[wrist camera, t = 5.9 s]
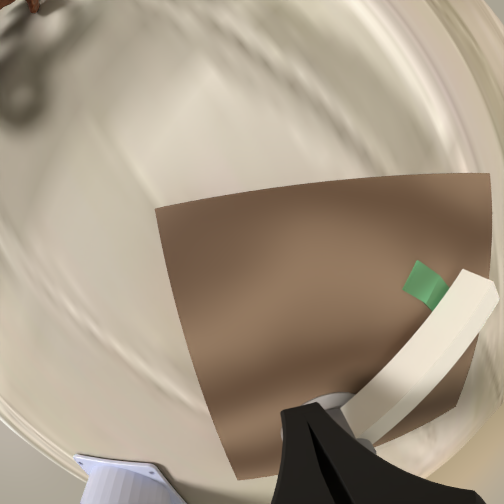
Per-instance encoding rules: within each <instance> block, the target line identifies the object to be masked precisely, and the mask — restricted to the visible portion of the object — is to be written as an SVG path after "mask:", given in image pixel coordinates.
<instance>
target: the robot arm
mask: <svg viewBox="0 0 504 504" xmlns="http://www.w3.org/2000/svg"><path fill="white" fill-rule="evenodd" d="M280 415H281V422H282V429H283V443H282V455H281V463H280V468H279V474H278V479H277V484H276V488H275V491H274V495H273V498H272V502H271V504H486V503H485V502H484V500H483V499H482V498H481V497H480V496H479V495H478V494H477V493H476V492H475V491H473V490H467V489H460V488H455V487H450V486H445V485H442V484H438V483H435V482H431V481H429V480H426V479H423V478H421V477H418V476H415V475H413V474H410V473H408V472H406V471H404V470H402V469H400V468H398V467H396V466H394V465H392V464H390V463H389V462H387V461H385V460H383V459H382V458H380V457H379V456H377V455H376V454H374V453H373V452H371V451H370V450H368V449H367V448H366V447H364V446H363V445H362V444H360V443H359V442H358V441H357V440H355V439H354V438H353V437H352V436H351V435H350V434H348V433H347V432H346V431H345V430H344V429H343V428H342V427H341V426H340V425H339V424H338V423H337V422H336V421H335V420H334V419H333V418H332V417H331V416H330V415H329V414H328V413H327V412H326V411H325V410H324V409H323V407H322V406H321V405H320V404H319V403H318V402H314V403H310V404H306V405H302V406H297V407H293V408H288V409H284V410H282V411H281V412H280ZM73 458H74V460H75V461H76V462H77V463H78V464H79V465H80V466H81V468H82V469H83V470H84V471H85V472H86V473H87V474H88V475H89V478H88V481H87V484H86V487H85V490H84V493H83V496H82V499H81V502H80V504H187V503H186V502H185V501H184V500H183V499H182V498H181V496H180V495H179V494H178V493H177V492H176V491H175V489H174V488H173V487H172V486H171V485H170V483H169V482H168V481H167V480H166V478H165V477H164V476H163V475H162V473H161V472H160V471H159V469H158V468H157V467H156V466H155V465H153V464H150V463H137V462H126V461H116V460H108V459H101V458H95V457H89V456H84V455H78V454H74V456H73Z"/></svg>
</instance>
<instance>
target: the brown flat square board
mask: <svg viewBox="0 0 504 504" xmlns="http://www.w3.org/2000/svg"><path fill="white" fill-rule="evenodd" d="M155 212H156V218H157V223H158V228H159V233H160V238H161V243H162V248H163V253H164V257H165V262H166V266H167V271H168V275H169V279H170V283H171V287H172V292H173V295H174V299H175V303H176V307H177V311H178V315H179V318H180V322H181V325H182V329H183V332H184V336H185V339H186V343H187V346H188V349H189V353H190V356H191V359H192V362H193V365H194V369H195V372H196V375H197V378H198V381H199V384H200V387H201V390H202V392H203V395H204V398H205V401H206V404H207V406H208V409H209V412H210V415H211V417H212V420H213V423H214V425H215V428H216V430H217V433H218V435H219V438H220V440H221V443H222V445H223V448H224V450H225V452H226V455H227V457H228V459H229V462H230V464H231V466H232V469H233V471H234V473H235V475H236V478H237V480H246V479H254V478H261V477H267V476H273V475H278V474H279V468H280V463H281V455H282V443H283V429H282V422H281V415H280V412H281V411H282V410H284V409H288V408H293V407H297V406H302V405H306V404H310V403H314V402H318V403H319V404H320V405H321V406H322V407H323V409H324V410H325V411H326V410H330V409H336V408H341V407H342V406H344V405H345V404H346V403H347V402H348V401H349V400H350V399H352V398H353V397H354V396H355V395H356V394H357V393H358V392H359V391H360V390H361V389H363V388H364V387H365V386H366V385H367V384H368V383H369V382H370V381H371V380H372V379H373V378H374V377H375V376H376V375H377V374H378V373H379V372H380V371H381V370H382V369H383V368H384V367H385V366H386V365H387V364H388V363H389V362H390V361H391V360H392V359H393V358H394V357H395V355H396V354H397V353H398V352H399V351H400V350H401V349H402V348H403V347H404V346H405V344H406V343H407V342H408V341H409V340H410V339H411V338H412V336H413V335H414V334H415V333H416V332H417V330H418V329H419V328H420V327H421V326H422V324H423V323H424V322H425V321H426V319H427V318H428V317H429V316H430V314H431V313H432V312H433V310H434V309H435V308H436V306H437V305H438V304H439V302H440V301H441V300H442V298H443V297H444V296H445V294H446V293H447V291H448V290H449V288H450V287H451V286H452V284H453V283H454V281H455V280H456V278H457V277H458V275H459V274H460V272H461V271H462V269H464V270H467V271H469V272H472V273H474V274H477V275H479V276H481V277H484V278H486V279H489V270H490V259H491V243H492V198H491V182H490V173H447V174H418V175H399V176H383V177H369V178H357V179H346V180H336V181H326V182H317V183H308V184H300V185H292V186H284V187H277V188H270V189H263V190H256V191H249V192H243V193H236V194H230V195H224V196H218V197H212V198H207V199H201V200H196V201H190V202H185V203H180V204H175V205H170V206H165V207H160V208H156V209H155ZM478 335H479V333H478V334H477V335H476V337H475V338H474V340H473V341H472V342H471V344H470V345H469V346H468V348H467V349H466V350H465V352H464V353H463V354H462V356H461V357H460V358H459V359H458V361H457V362H456V363H455V364H454V366H453V367H452V368H451V369H450V370H449V372H448V373H447V374H446V375H445V376H444V377H443V378H442V380H441V381H440V382H439V383H438V384H437V385H436V386H435V387H434V388H433V389H432V391H431V392H430V393H429V394H428V395H427V396H426V397H425V398H424V399H423V400H422V401H421V402H420V403H419V404H418V405H417V406H416V407H415V408H414V409H413V410H412V411H411V412H410V413H409V414H407V415H406V416H405V417H404V418H403V419H402V420H401V421H400V422H399V423H398V424H396V425H395V426H394V427H393V428H392V429H391V430H389V431H388V432H387V433H386V434H385V435H384V436H382V437H381V438H380V439H379V440H377V441H376V442H375V443H374V444H372V445H373V447H376V446H379V445H381V444H384V443H386V442H388V441H391V440H393V439H395V438H397V437H400V436H402V435H404V434H406V433H408V432H410V431H412V430H414V429H416V428H418V427H420V426H422V425H424V424H426V423H428V422H430V421H432V420H433V419H435V418H437V417H439V416H441V415H442V414H444V413H446V412H447V411H449V410H451V409H452V408H454V407H456V404H457V402H458V399H459V397H460V394H461V391H462V389H463V386H464V383H465V380H466V377H467V374H468V371H469V368H470V365H471V361H472V358H473V354H474V351H475V347H476V343H477V339H478Z"/></svg>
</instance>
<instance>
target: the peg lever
mask: <svg viewBox="0 0 504 504" xmlns="http://www.w3.org/2000/svg"><path fill="white" fill-rule="evenodd" d="M499 300H500V299H499V296H498V293H497V290H496V287H495V285H494V282H493V281H491V280H489V279H486V278H484V277H481V276H479V275H477V274H474V273H472V272H469V271H467V270H464V269H462V271H461V272H460V274H459V275H458V277H457V278H456V280H455V281H454V283H453V284H452V286H451V287H450V288H449V290H448V291H447V293H446V294H445V296H444V297H443V298H442V300H441V301H440V302H439V304H438V305H437V306H436V308H435V309H434V310H433V312H432V313H431V314H430V316H429V317H428V318H427V319H426V321H425V322H424V323H423V324H422V326H421V327H420V328H419V329H418V330H417V332H416V333H415V334H414V335H413V336H412V338H411V339H410V340H409V341H408V342H407V343H406V344H405V346H404V347H403V348H402V349H401V350H400V351H399V352H398V353H397V354H396V355H395V357H394V358H393V359H392V360H391V361H390V362H389V363H388V364H387V365H386V366H385V367H384V368H383V369H382V370H381V371H380V372H379V373H378V374H377V375H376V376H375V377H374V378H373V379H372V380H371V381H370V382H369V383H368V384H367V385H366V386H365V387H364V388H363V389H361V390H360V391H359V392H358V393H357V394H356V395H355V396H354V397H353V398H352V399H350V400H349V401H348V402H347V403H346V404H345V405H344V406H342V407H341V408H336V409H330V410H326V412H327V413H328V414H329V415H330V416H331V417H332V418H333V419H334V420H335V421H336V422H337V423H338V424H339V425H340V426H341V427H342V428H343V429H344V430H345V431H346V432H347V433H348V434H350V435H351V436H352V437H353V438H354V439H355V440H357V441H358V442H359V443H360V444H362V445H363V446H364V447H366V448H367V449H368V450H370V451H371V452H373V453H374V454H376V450H375V449H374V447H373V445H372V444H374V443H375V442H376V441H377V440H379V439H380V438H381V437H382V436H384V435H385V434H386V433H387V432H388V431H389V430H391V429H392V428H393V427H394V426H395V425H396V424H398V423H399V422H400V421H401V420H402V419H403V418H404V417H405V416H406V415H407V414H409V413H410V412H411V411H412V410H413V409H414V408H415V407H416V406H417V405H418V404H419V403H420V402H421V401H422V400H423V399H424V398H425V397H426V396H427V395H428V394H429V393H430V392H431V391H432V389H433V388H434V387H435V386H436V385H437V384H438V383H439V382H440V381H441V380H442V378H443V377H444V376H445V375H446V374H447V373H448V372H449V370H450V369H451V368H452V367H453V366H454V364H455V363H456V362H457V361H458V359H459V358H460V357H461V356H462V354H463V353H464V352H465V350H466V349H467V348H468V346H469V345H470V344H471V342H472V341H473V340H474V338H475V337H476V335H477V334H478V333H479V331H480V330H481V328H482V327H483V325H484V324H485V322H486V321H487V319H488V318H489V316H490V314H491V313H492V311H493V310H494V308H495V306H496V305H497V303H498V301H499Z"/></svg>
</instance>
